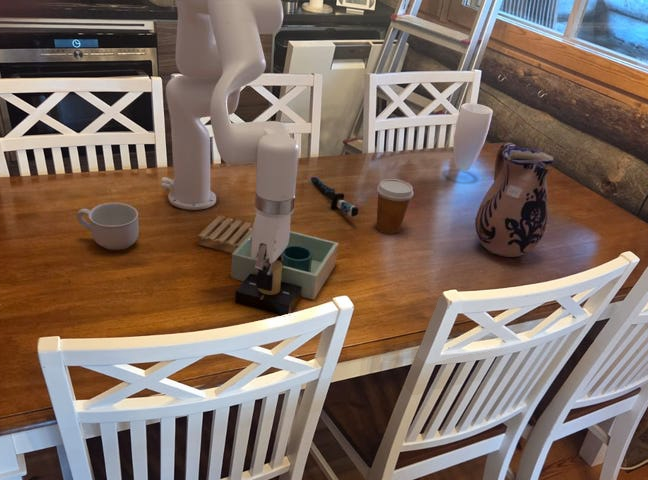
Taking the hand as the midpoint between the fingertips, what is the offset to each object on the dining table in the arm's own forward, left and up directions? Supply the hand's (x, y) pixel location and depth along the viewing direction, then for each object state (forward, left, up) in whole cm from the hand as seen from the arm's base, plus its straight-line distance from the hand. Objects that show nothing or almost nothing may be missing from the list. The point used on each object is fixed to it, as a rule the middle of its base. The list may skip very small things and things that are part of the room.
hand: (269, 281), depth 132 cm
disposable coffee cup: (+16, +47, -5) cm, 50 cm away
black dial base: (0, 0, -5) cm, 5 cm away
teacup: (-42, +6, -5) cm, 43 cm away
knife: (-2, +54, -5) cm, 54 cm away
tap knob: (0, 0, -2) cm, 2 cm away
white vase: (+29, +95, -5) cm, 99 cm away
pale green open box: (-1, +13, -5) cm, 14 cm away
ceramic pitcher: (+45, +52, -5) cm, 69 cm away
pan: (-1, +13, -4) cm, 14 cm away
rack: (-18, +20, -5) cm, 27 cm away
